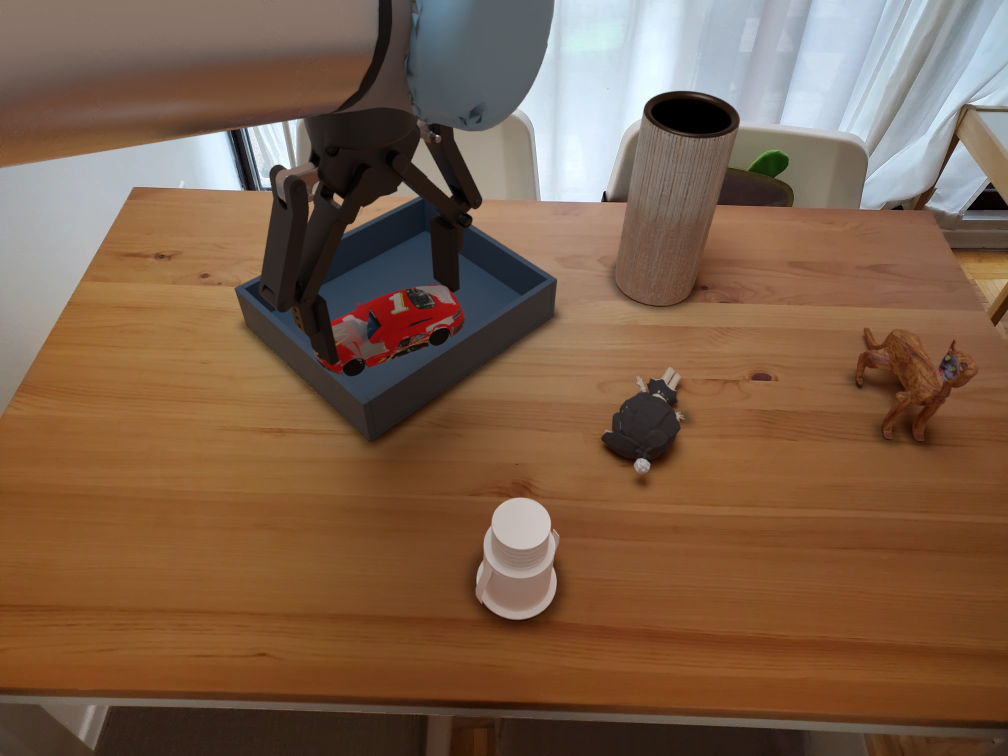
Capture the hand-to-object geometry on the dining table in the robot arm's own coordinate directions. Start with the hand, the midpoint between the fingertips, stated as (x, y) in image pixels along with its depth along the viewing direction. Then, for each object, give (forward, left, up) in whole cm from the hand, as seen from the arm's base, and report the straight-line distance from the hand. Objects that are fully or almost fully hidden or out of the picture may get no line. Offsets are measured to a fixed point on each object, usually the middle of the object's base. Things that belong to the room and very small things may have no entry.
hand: (389, 317), depth 61 cm
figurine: (+19, -16, -17) cm, 30 cm away
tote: (+11, +14, -17) cm, 25 cm away
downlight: (-3, -19, -17) cm, 26 cm away
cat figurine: (+43, -31, -17) cm, 56 cm away
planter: (+39, -2, -17) cm, 43 cm away
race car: (0, 0, -3) cm, 3 cm away
